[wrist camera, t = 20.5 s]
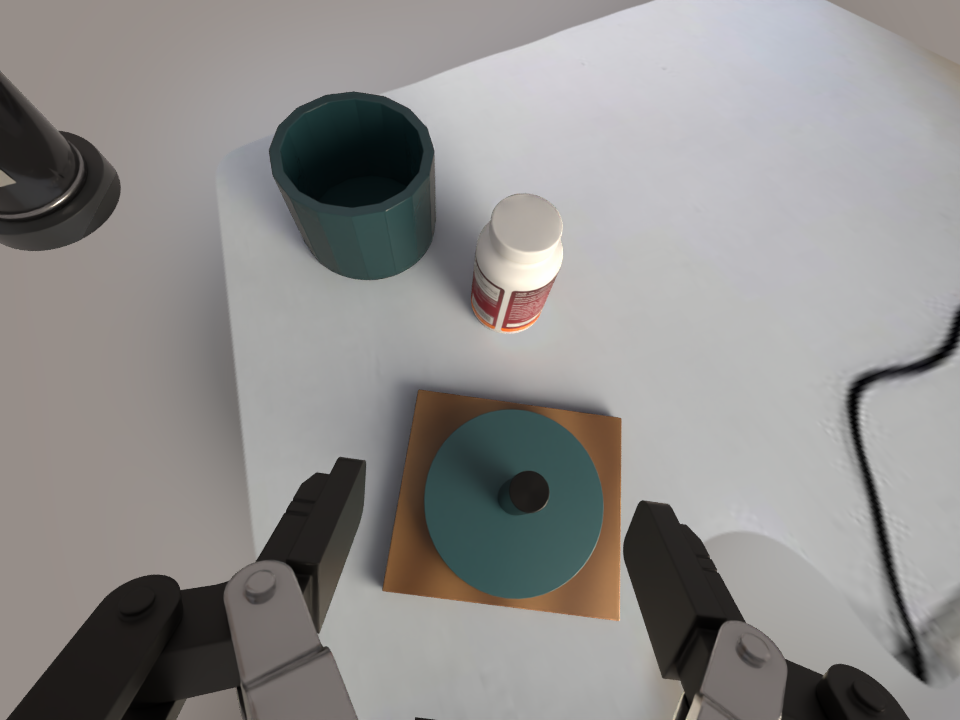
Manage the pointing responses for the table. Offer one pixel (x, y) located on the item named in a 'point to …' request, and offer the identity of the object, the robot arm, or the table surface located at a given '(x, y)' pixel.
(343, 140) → the pot
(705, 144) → the table surface
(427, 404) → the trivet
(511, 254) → the pill bottle
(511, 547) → the lid
